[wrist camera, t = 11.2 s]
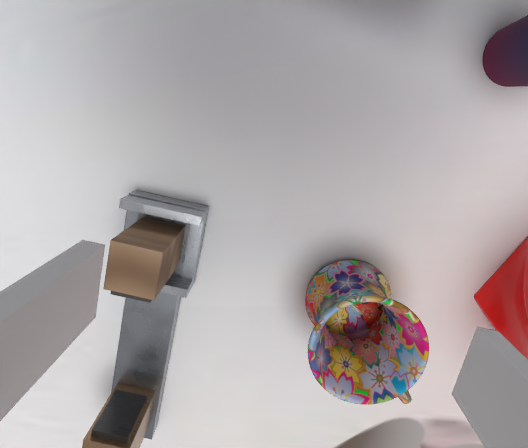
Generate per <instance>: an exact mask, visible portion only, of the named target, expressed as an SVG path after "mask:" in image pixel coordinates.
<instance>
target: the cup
mask: <svg viewBox="0 0 528 448" xmlns="http://www.w3.org/2000/svg"><path fill="white" fill-rule="evenodd" d="M483 66H484V70H485V72H486V74H487V76H488V77H489V78H490V79H491V80H492V81H493V82H494V83H496V84H498V85H501V86H509V87H510V86H528V16H526V17H524V18H522V19H520V20H518V21H516V22H514V23H512V24H511V25H509V26H507V27H505V28H503V29H501V30H500V31H498V32H497V33H496V34H494V35H493V37H492V38H491V39H490V40H489V42H488V44H487V45H486V48H485V50H484V55H483Z"/></svg>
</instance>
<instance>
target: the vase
mask: <svg viewBox="0 0 528 448" xmlns="http://www.w3.org/2000/svg"><path fill="white" fill-rule="evenodd" d="M474 299H475V300H476V302H477V303H478V305H479V306H480V308H481V309H482V311H483V312H484V314H485V315H486V316H487V318H488V319H489V321H490V322H491V324H492V325H493V327H494V328H495V329H496V331H499V332H500V333H501V334H502V335H503V336H504V337H505V338H506V339H507V340H508V341H509V342H510V343H511V344H512V345H513V346H514V347H515V348H516V349H517V350H518V351H519V352H520V353H521V354H522V355H523V356H524V357H525V358H526V359H528V237H527V238H526V239H525V240H524V241H523V243H522V244H521V245H520V246H519V247H518V248H517V249H516V250H515V252H514V253H513V254H512V255H511V256H510V257H509V258H508V259H507V260H506V261H505V263H504V264H503V265H502V266H501V267H500V268H499V269H498V270H497V271H496V272H495V273H494V275H493V276H492V277H491V278H490V279H489V280H488V281H487V282H486V283H485V284H484V285H483V286H482V287H481V289H480V290H479V291H478V292H477V293H476V294H475V295H474Z"/></svg>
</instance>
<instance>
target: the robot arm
mask: <svg viewBox="0 0 528 448" xmlns="http://www.w3.org/2000/svg"><path fill="white" fill-rule="evenodd" d="M104 249H105V245H103V244H99V243H94V242H90V241H85V240H82V241H80V242H79V243H77V244H76V245H74V246H72V247H71V248H69V249H68V250H66V251H65V252H63V253H61V254H60V255H58V256H57V257H55V258H53V259H52V260H50V261H49V262H47V263H45V264H44V265H42V266H41V267H39V268H37V269H36V270H34V271H33V272H31V273H30V274H28V275H26V276H25V277H23V278H22V279H20V280H18V281H17V282H15V283H14V284H12V285H10V286H9V287H7V288H6V289H4V290H3V291H1V292H0V421H1V420H2V419H3V418H4V417H5V415H6V414H7V413H8V412H9V411H10V410H11V409H12V408H13V407H14V406H15V404H16V403H17V402H18V401H19V400H20V399H21V398H22V397H23V396H24V395H25V394H26V392H27V391H28V390H29V389H30V388H31V387H32V386H33V385H34V384H35V383H36V382H37V380H38V379H39V378H40V377H41V376H42V375H43V374H44V373H45V372H46V371H47V370H48V368H49V367H50V366H51V365H52V364H53V363H54V362H55V361H56V360H57V359H58V357H59V356H60V355H61V354H62V353H63V352H64V351H65V350H66V349H67V348H68V347H69V345H70V344H71V343H72V342H73V341H74V340H75V339H76V338H77V337H78V336H79V335H80V333H81V332H82V331H83V330H84V329H85V328H86V327H87V326H88V325H89V324H90V322H91V321H92V320H93V319H94V318H95V316H96V309H97V301H98V294H99V286H100V279H101V271H102V264H103V256H104ZM452 396H453V397H454V399H455V400H456V402H457V404H458V405H459V407H460V408H461V410H462V412H463V413H464V415H465V416H466V418H467V420H468V421H469V423H470V424H471V426H472V428H473V429H474V431H475V432H476V434H477V435H478V437H479V439H480V440H481V442H482V443H483V445H484V447H485V448H528V359H526V358H525V357H524V356H523V355H522V354H521V353H520V352H519V351H518V350H517V349H516V348H515V347H514V346H513V345H512V344H511V343H510V342H509V341H508V340H507V339H506V338H505V337H504V336H503V335H502V334H501V333H500V332H499V331H495V330H490V329H485V328H481V327H477V329H476V332H475V334H474V337H473V339H472V342H471V345H470V347H469V350H468V352H467V355H466V358H465V360H464V363H463V365H462V368H461V371H460V373H459V376H458V379H457V381H456V384H455V386H454V389H453V392H452Z"/></svg>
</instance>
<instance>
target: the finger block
mask: <svg viewBox="0 0 528 448" xmlns="http://www.w3.org/2000/svg"><path fill="white" fill-rule="evenodd" d="M184 231H185V226H183V225H179V224H175V223H170V222H166V221H162V220H157V219H153V218H149V217H144V216H143V217H142V218H140V219H139V220H138V221H136V222H135V223H134V224H132V225H131V226H130V227H128V228H127V229H126V230H124V231H123V232H121V233H120V234H119V235H117V236H116V237H115V238H113V239H112V240H111V241H110V248H109V255H108V262H107V269H106V275H105V282H104V289H106V290H111V294H113V295H117V296H122V297H126V298H131V299H135V300H140V301H144V302H149V303H151V301H152V300H155V299H156V297H157V296H158V294H159V293H160V291H161V290H162V288H163V287H164V285H165V284H166V282H167V281H168V279H169V278H170V276H171V275H172V274H173V272H174V271H175V269H176V268H177V266H178V263H179V258H180V252H181V247H182V242H183V237H184Z"/></svg>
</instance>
